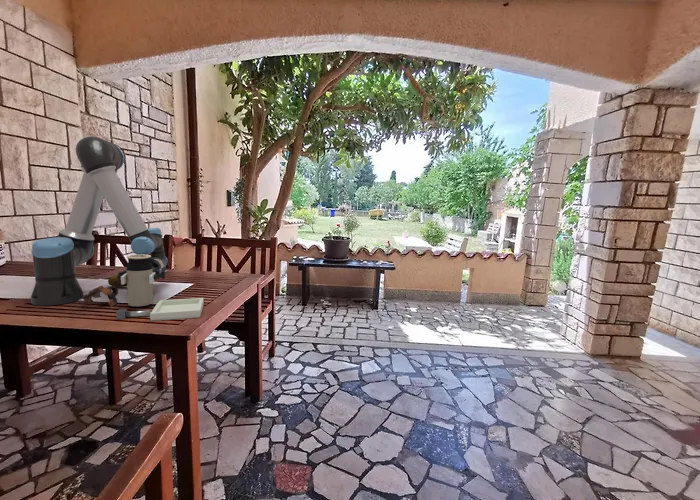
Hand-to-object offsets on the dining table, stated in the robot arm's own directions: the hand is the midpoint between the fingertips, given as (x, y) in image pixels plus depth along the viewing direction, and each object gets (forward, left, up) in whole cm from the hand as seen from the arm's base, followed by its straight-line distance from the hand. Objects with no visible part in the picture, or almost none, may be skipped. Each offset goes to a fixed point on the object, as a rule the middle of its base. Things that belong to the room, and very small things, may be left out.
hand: (136, 280), depth 117 cm
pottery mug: (-13, +10, -11) cm, 20 cm away
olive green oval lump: (-13, +36, -11) cm, 40 cm away
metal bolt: (+1, -7, -11) cm, 13 cm away
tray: (+14, -5, -11) cm, 19 cm away
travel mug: (0, +5, -10) cm, 11 cm away
